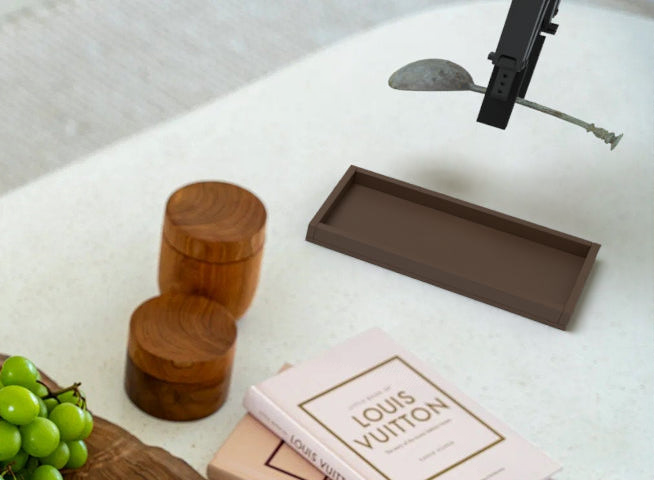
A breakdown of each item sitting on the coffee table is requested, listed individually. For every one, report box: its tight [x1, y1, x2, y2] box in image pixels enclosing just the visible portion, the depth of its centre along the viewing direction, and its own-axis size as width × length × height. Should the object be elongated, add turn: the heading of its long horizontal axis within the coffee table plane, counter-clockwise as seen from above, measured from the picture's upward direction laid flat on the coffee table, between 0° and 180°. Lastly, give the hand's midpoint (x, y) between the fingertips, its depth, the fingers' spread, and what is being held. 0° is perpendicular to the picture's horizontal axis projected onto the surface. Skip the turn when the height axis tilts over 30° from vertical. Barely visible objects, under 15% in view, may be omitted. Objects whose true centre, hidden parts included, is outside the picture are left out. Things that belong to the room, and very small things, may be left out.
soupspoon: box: [387, 58, 624, 151], centre depth 108 cm, size 22×3×7 cm
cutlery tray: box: [304, 164, 602, 331], centre depth 111 cm, size 25×12×2 cm, turn 59°
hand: (500, 109), depth 109 cm, fingers closed on soupspoon, 5 cm apart
